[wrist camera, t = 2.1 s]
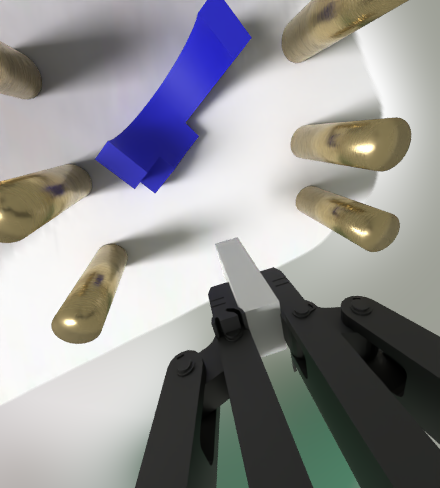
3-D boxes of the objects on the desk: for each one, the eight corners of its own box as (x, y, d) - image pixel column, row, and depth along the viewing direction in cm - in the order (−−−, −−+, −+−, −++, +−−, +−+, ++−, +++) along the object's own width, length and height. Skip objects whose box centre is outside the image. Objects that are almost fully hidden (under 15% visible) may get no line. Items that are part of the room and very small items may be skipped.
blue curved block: (157, 186, 22) (152, 202, 17) (115, 153, 21) (94, 159, 15) (242, 79, 20) (267, 59, 15) (203, 31, 18) (215, -12, 13)
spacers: (-16, 55, 16) (-242, -42, 8) (313, -21, 18) (451, -176, 9) (104, 272, 25) (66, 349, 16) (321, 208, 26) (397, 245, 18)
